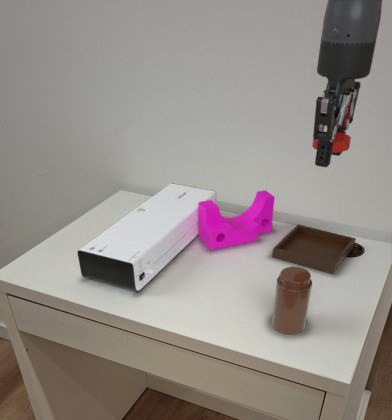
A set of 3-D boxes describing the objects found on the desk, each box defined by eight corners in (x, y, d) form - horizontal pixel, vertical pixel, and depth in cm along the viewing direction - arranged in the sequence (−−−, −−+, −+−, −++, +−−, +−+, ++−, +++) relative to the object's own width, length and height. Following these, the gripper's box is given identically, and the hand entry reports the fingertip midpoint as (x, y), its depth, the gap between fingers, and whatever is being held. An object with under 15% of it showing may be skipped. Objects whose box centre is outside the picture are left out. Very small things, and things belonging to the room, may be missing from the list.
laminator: (171, 209, 110) (170, 182, 106) (220, 219, 106) (221, 191, 102) (82, 281, 86) (76, 250, 82) (141, 297, 82) (138, 265, 78)
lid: (354, 144, 77) (355, 134, 76) (343, 154, 73) (345, 144, 72) (319, 139, 79) (320, 129, 78) (306, 149, 76) (308, 139, 75)
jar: (266, 318, 77) (271, 268, 71) (295, 312, 79) (303, 262, 73) (280, 337, 74) (287, 286, 68) (310, 330, 75) (320, 280, 69)
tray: (296, 232, 101) (297, 224, 99) (354, 246, 96) (356, 238, 94) (272, 257, 93) (273, 248, 91) (333, 274, 88) (335, 265, 86)
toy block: (211, 250, 95) (211, 214, 90) (198, 237, 99) (198, 202, 94) (277, 236, 99) (281, 201, 94) (262, 224, 104) (265, 190, 99)
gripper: (361, 45, 61) (337, 178, 71) (388, 32, 70) (363, 151, 81) (304, 41, 64) (290, 169, 74) (338, 29, 73) (320, 144, 84)
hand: (328, 159), depth 78 cm, fingers closed on lid, 5 cm apart
